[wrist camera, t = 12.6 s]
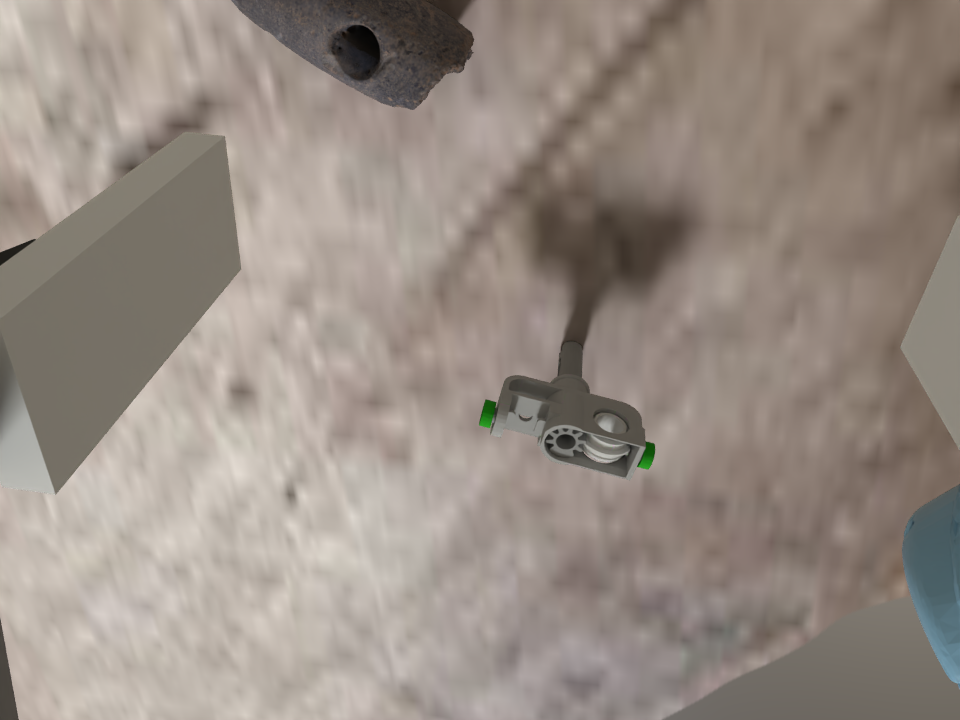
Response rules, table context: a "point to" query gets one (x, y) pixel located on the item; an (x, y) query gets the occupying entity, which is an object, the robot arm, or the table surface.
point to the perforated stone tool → (370, 42)
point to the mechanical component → (572, 420)
